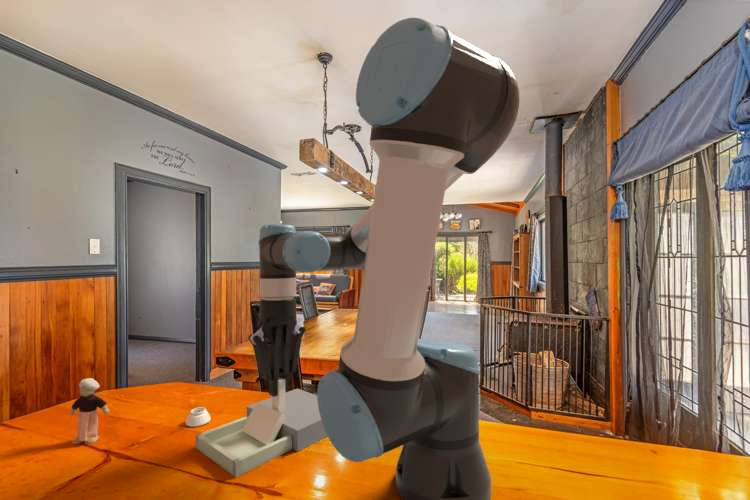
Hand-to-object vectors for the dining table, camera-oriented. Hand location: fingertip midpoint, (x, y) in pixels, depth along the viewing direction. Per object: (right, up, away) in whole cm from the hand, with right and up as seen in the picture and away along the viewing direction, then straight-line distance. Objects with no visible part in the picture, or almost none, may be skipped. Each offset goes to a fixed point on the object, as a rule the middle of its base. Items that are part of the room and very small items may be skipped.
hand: (278, 409), depth 78 cm
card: (-2, -2, -2) cm, 4 cm away
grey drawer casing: (+3, -5, +4) cm, 7 cm away
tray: (-5, -5, -6) cm, 9 cm away
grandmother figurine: (-38, -5, -3) cm, 39 cm away
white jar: (-20, -6, +5) cm, 21 cm away
